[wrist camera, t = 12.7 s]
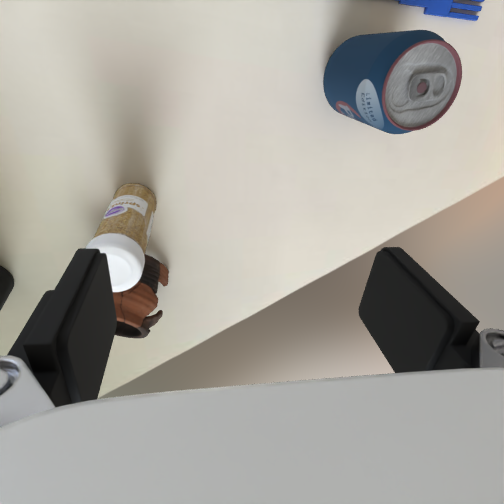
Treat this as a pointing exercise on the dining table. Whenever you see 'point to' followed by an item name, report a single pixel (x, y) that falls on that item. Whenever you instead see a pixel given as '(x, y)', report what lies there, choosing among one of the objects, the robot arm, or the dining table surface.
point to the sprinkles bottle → (126, 234)
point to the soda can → (393, 79)
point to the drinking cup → (5, 285)
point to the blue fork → (444, 8)
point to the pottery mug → (140, 301)
